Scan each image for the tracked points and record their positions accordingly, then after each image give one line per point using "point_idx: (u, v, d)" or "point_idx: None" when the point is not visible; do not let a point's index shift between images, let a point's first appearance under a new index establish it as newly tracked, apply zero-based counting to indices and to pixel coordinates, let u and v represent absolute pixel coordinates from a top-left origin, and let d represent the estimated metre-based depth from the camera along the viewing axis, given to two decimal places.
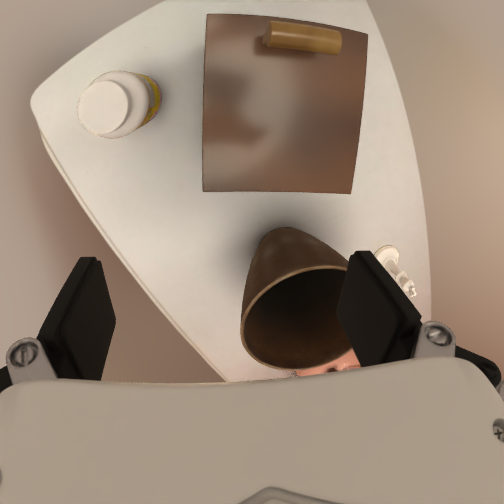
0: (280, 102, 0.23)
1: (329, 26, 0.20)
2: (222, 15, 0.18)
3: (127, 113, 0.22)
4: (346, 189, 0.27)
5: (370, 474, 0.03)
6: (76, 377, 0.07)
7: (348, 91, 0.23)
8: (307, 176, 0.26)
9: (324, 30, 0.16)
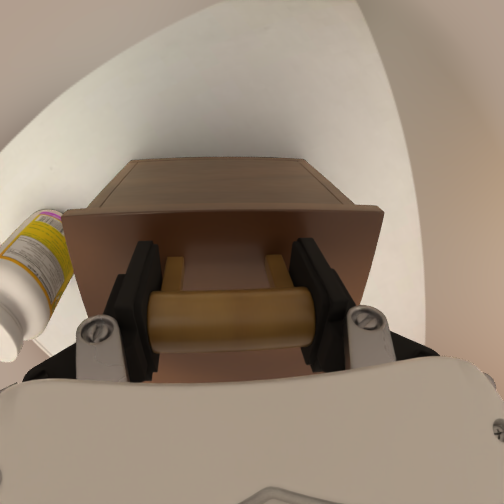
0: None
1: (305, 213, 0.12)
2: (85, 219, 0.11)
3: (18, 346, 0.14)
4: None
5: (370, 474, 0.03)
6: (142, 353, 0.08)
7: None
8: None
9: (275, 317, 0.09)
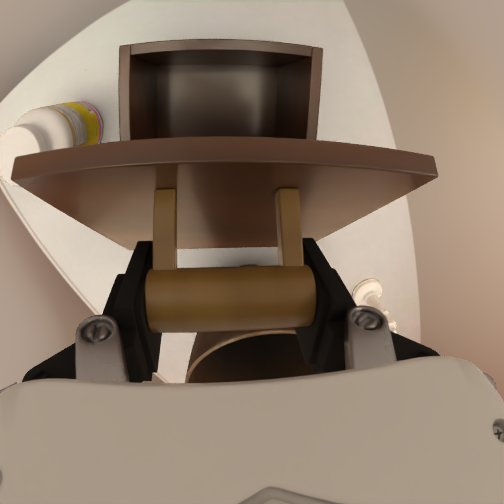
0: (209, 225, 0.15)
1: (342, 168, 0.08)
2: (41, 177, 0.07)
3: None
4: None
5: (370, 474, 0.03)
6: (142, 353, 0.08)
7: (335, 216, 0.14)
8: (251, 244, 0.22)
9: (275, 321, 0.09)
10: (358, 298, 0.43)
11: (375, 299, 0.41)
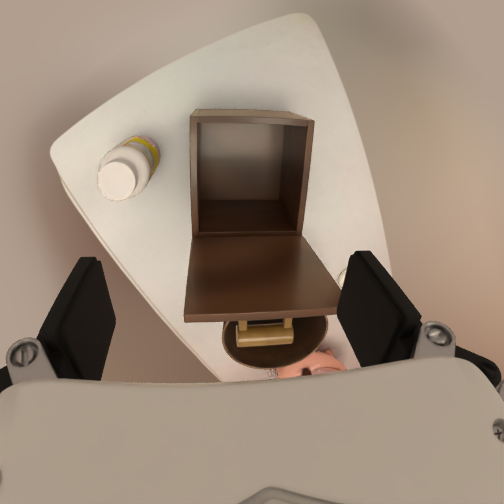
0: None
1: None
2: None
3: (135, 186, 0.32)
4: None
5: (370, 474, 0.03)
6: (76, 377, 0.07)
7: None
8: None
9: (278, 344, 0.27)
10: (343, 281, 0.58)
11: None
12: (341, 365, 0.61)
